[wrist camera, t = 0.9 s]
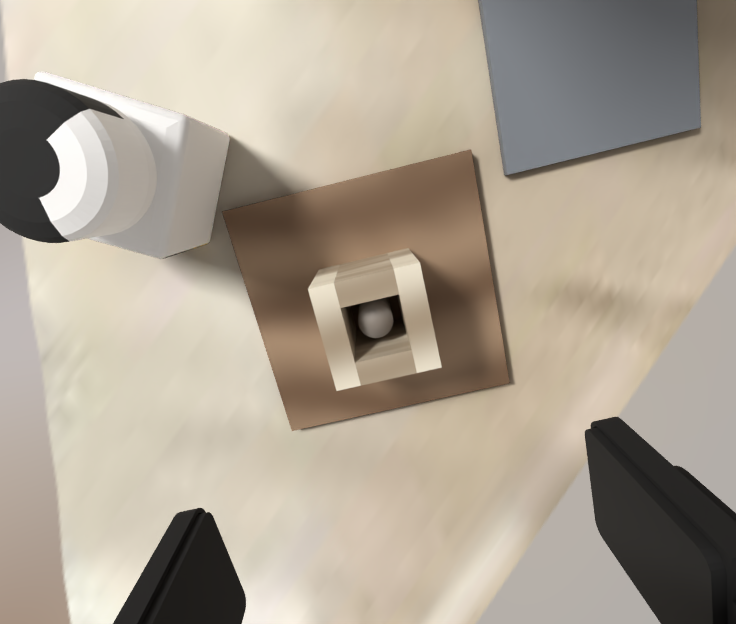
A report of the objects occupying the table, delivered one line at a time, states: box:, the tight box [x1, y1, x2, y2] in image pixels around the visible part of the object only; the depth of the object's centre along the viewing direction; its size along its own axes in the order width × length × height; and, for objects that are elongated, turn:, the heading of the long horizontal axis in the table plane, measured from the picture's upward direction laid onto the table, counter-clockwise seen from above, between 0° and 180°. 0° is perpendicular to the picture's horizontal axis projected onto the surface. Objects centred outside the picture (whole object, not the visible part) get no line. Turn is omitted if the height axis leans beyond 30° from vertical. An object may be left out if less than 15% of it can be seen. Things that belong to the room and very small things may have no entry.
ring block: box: [308, 248, 442, 391], centre depth 26 cm, size 6×6×6 cm
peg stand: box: [222, 150, 510, 431], centre depth 28 cm, size 16×16×5 cm
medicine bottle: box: [0, 72, 230, 259], centre depth 22 cm, size 7×7×12 cm
